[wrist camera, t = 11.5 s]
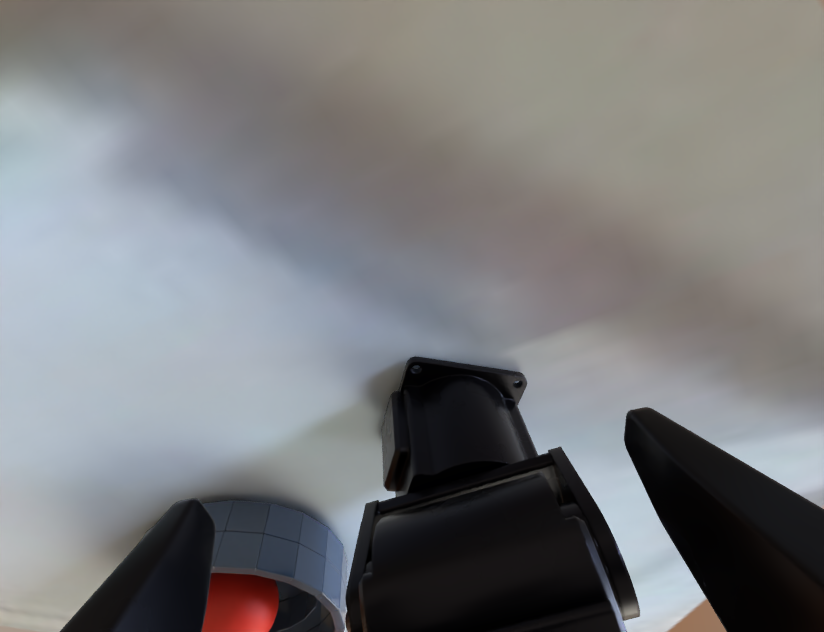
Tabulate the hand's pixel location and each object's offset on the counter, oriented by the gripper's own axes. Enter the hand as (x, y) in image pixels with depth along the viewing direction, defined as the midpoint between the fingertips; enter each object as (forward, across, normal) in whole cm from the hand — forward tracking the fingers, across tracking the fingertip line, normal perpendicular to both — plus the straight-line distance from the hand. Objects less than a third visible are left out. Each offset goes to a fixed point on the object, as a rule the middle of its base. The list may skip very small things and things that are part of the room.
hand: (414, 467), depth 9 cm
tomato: (+11, +14, +20) cm, 27 cm away
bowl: (+12, +14, +20) cm, 27 cm away
